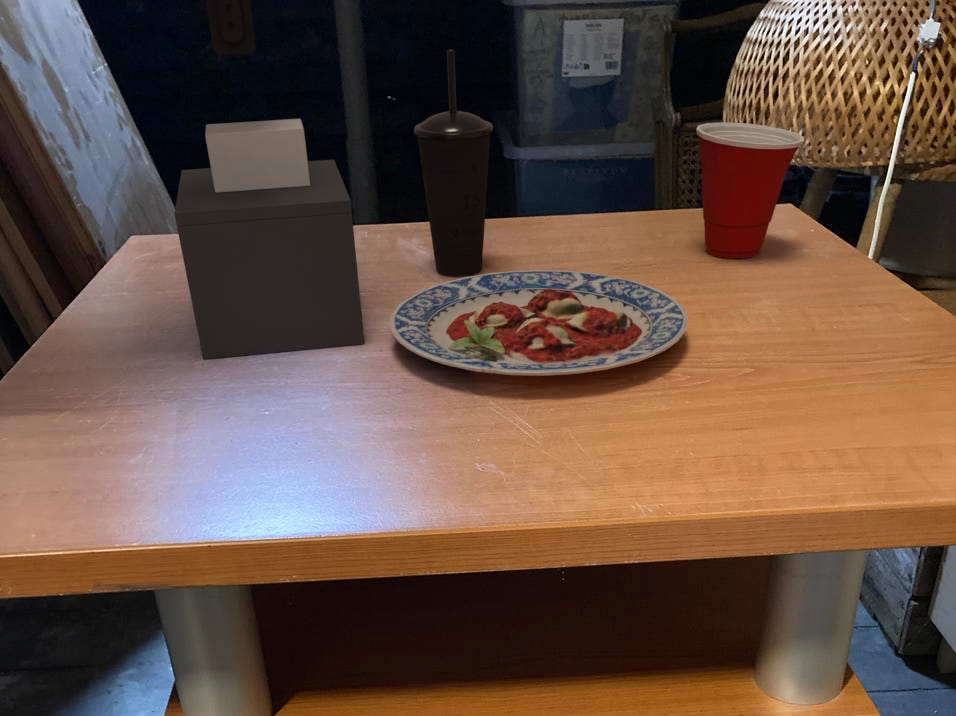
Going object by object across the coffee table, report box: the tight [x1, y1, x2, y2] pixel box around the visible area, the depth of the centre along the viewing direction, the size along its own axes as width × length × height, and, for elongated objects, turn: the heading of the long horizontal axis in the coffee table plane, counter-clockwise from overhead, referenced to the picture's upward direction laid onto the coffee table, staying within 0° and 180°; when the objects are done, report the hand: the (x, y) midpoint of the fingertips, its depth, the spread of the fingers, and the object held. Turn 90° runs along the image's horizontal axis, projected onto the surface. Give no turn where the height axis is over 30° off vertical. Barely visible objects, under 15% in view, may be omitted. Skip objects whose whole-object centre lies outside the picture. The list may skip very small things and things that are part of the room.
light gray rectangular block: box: [204, 118, 310, 193], centre depth 85 cm, size 8×4×4 cm, turn 101°
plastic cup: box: [695, 121, 805, 259], centre depth 104 cm, size 11×11×12 cm
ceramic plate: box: [389, 269, 689, 377], centre depth 87 cm, size 26×26×3 cm
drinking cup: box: [413, 49, 494, 277], centre depth 99 cm, size 8×8×20 cm
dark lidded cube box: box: [174, 159, 365, 360], centre depth 90 cm, size 14×16×12 cm
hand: (234, 46), depth 80 cm, fingers open, 9 cm apart
